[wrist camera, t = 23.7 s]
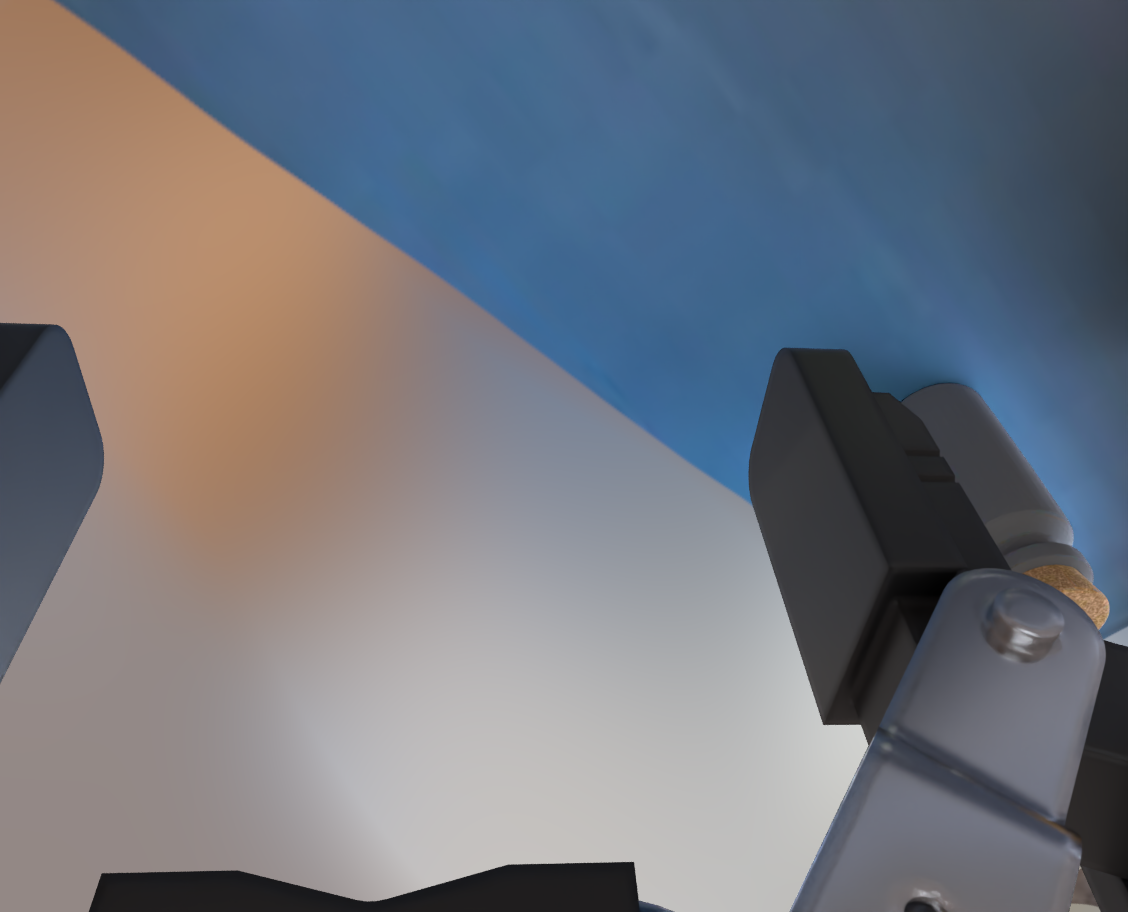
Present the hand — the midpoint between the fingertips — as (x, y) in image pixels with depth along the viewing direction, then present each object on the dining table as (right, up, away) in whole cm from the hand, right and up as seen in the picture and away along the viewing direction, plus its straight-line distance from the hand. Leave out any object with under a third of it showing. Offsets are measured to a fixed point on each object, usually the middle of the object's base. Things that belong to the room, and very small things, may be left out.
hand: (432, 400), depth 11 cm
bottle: (+23, +1, +42) cm, 48 cm away
